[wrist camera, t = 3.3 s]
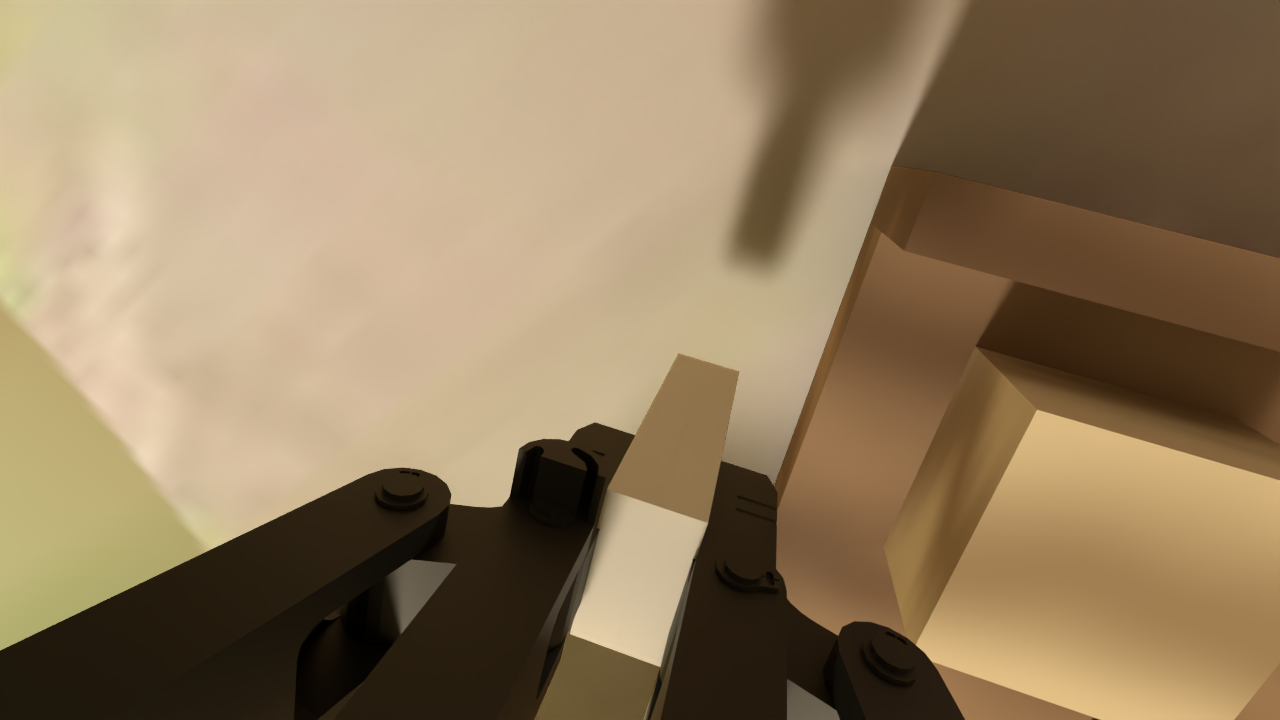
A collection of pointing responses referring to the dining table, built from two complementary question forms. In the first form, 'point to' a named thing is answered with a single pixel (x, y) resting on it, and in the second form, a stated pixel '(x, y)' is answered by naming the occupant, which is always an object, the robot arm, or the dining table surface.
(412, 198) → the dining table surface
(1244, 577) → the block
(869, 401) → the divided wooden tray
